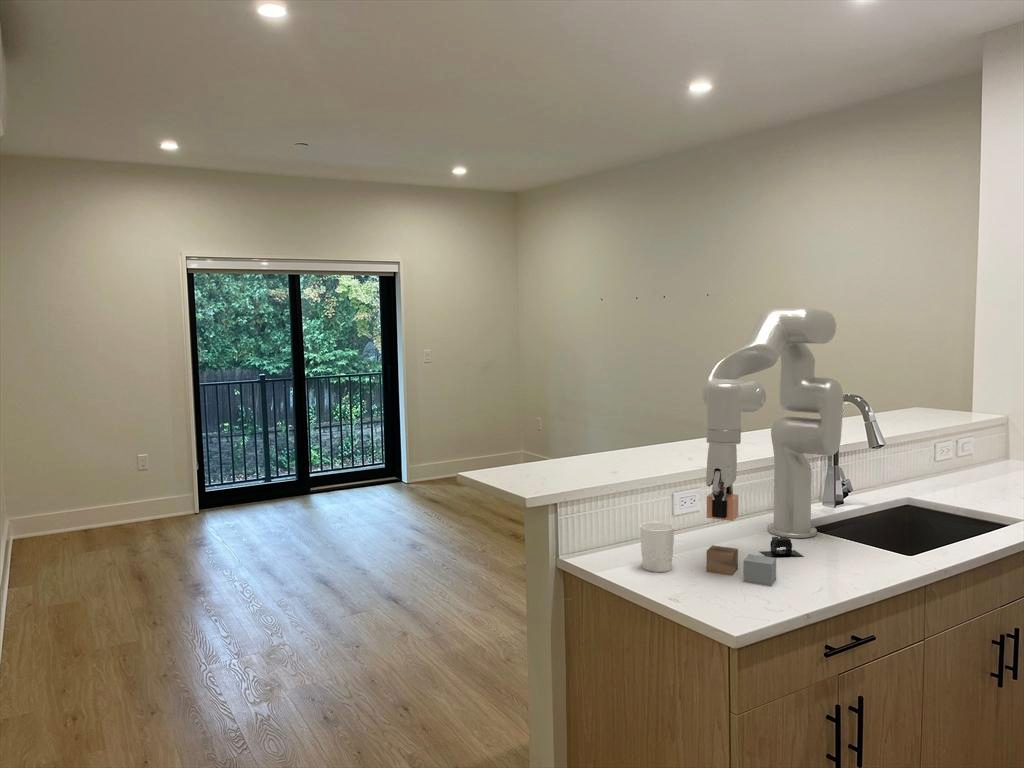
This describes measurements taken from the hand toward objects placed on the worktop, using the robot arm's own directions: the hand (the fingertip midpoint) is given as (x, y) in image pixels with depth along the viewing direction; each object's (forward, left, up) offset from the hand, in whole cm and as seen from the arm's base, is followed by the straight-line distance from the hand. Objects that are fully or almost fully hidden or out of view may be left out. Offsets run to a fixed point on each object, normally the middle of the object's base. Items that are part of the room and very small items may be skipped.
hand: (722, 513), depth 170 cm
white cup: (+5, -14, -14) cm, 20 cm away
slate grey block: (+3, +9, -14) cm, 17 cm away
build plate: (-19, +10, -14) cm, 26 cm away
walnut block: (0, 0, -14) cm, 14 cm away
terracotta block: (0, 0, -1) cm, 1 cm away
